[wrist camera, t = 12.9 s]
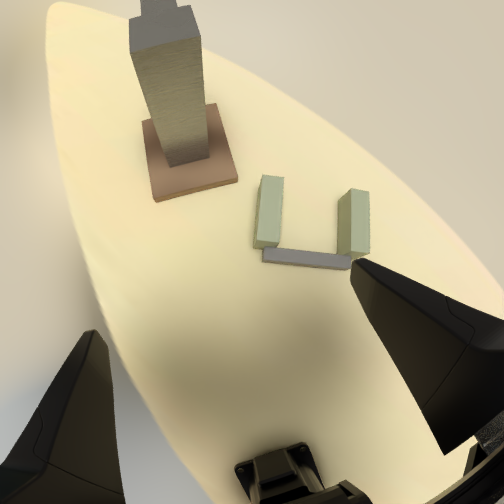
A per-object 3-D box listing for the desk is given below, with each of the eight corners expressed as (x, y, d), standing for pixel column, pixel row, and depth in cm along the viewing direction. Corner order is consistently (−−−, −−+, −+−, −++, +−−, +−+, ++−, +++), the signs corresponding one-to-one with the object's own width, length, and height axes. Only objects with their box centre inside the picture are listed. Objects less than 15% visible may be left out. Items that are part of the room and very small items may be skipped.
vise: (353, 271, 24) (369, 266, 21) (251, 260, 24) (255, 254, 21) (354, 203, 25) (369, 191, 22) (258, 189, 25) (262, 174, 22)
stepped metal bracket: (209, 158, 24) (200, 35, 11) (169, 168, 23) (129, 52, 11) (195, 101, 25) (183, -15, 12) (159, 110, 24) (129, -3, 12)
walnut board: (237, 182, 25) (237, 177, 24) (156, 202, 24) (153, 198, 23) (216, 109, 26) (216, 102, 25) (144, 126, 25) (141, 121, 24)
